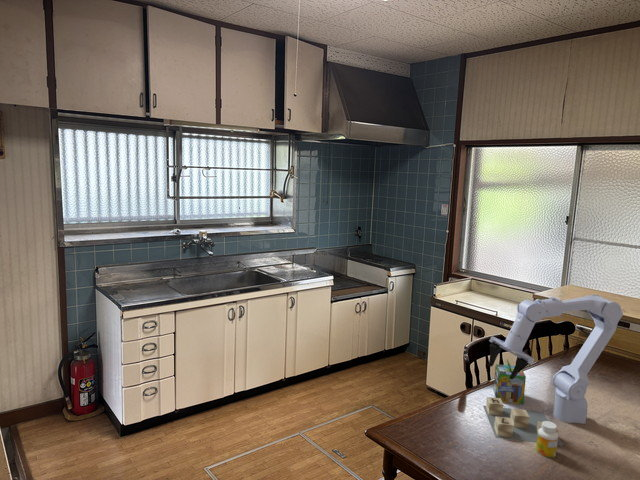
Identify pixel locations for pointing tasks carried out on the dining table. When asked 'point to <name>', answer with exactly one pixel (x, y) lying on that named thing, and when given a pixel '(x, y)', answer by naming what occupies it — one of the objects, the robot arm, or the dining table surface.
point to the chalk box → (509, 384)
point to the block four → (494, 406)
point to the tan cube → (540, 426)
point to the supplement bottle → (547, 439)
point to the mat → (521, 433)
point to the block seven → (503, 426)
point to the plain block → (519, 418)
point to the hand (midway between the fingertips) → (500, 372)
